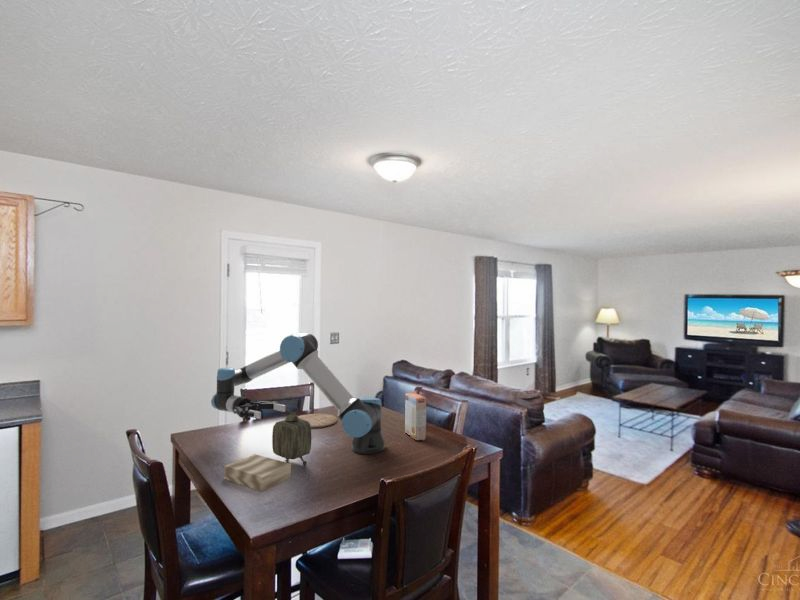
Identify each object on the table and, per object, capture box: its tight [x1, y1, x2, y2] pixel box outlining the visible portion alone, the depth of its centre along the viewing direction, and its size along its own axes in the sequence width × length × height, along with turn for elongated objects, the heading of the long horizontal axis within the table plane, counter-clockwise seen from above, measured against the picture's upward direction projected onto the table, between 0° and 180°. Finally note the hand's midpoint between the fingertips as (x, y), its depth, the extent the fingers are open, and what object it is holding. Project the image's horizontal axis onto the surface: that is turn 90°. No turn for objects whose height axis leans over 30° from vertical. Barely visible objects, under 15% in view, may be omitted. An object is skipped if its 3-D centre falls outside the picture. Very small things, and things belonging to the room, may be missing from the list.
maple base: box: [223, 453, 292, 492], centre depth 150 cm, size 20×14×5 cm
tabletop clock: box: [271, 402, 313, 466], centre depth 164 cm, size 14×9×25 cm, turn 56°
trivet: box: [297, 413, 338, 429], centre depth 225 cm, size 25×25×2 cm
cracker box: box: [404, 392, 427, 441], centre depth 201 cm, size 14×6×21 cm, turn 22°
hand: (273, 411), depth 169 cm, fingers open, 13 cm apart
